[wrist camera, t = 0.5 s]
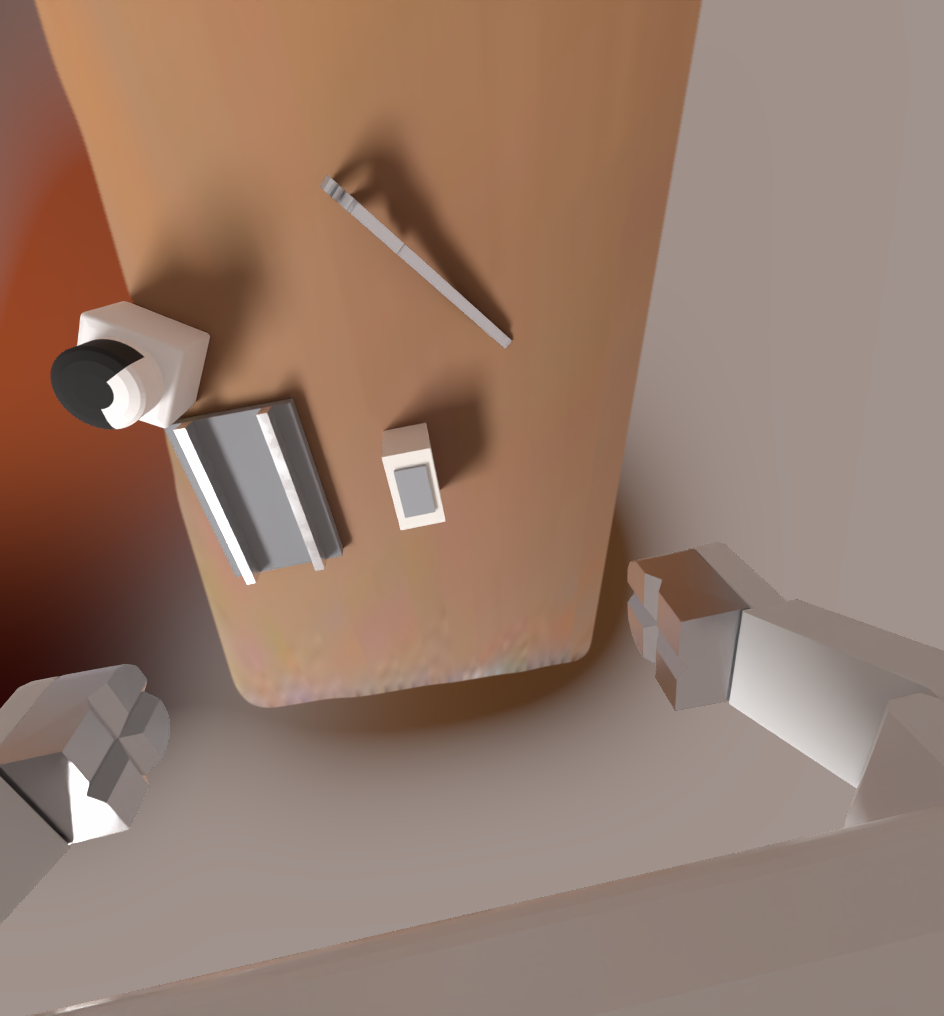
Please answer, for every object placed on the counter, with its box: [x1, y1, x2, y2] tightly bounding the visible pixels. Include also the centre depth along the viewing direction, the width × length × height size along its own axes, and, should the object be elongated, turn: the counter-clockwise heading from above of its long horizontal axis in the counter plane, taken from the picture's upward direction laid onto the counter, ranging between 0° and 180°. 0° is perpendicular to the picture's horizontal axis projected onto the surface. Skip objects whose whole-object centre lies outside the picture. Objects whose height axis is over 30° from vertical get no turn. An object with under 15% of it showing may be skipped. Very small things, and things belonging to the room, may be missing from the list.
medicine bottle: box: [51, 301, 210, 429], centre depth 41 cm, size 7×7×12 cm
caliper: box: [320, 175, 512, 349], centre depth 43 cm, size 20×1×6 cm, turn 50°
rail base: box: [164, 398, 343, 577], centre depth 53 cm, size 18×12×2 cm, turn 9°
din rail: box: [174, 406, 327, 585], centre depth 51 cm, size 18×8×2 cm, turn 9°
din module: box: [382, 423, 445, 530], centre depth 51 cm, size 8×4×7 cm, turn 9°
